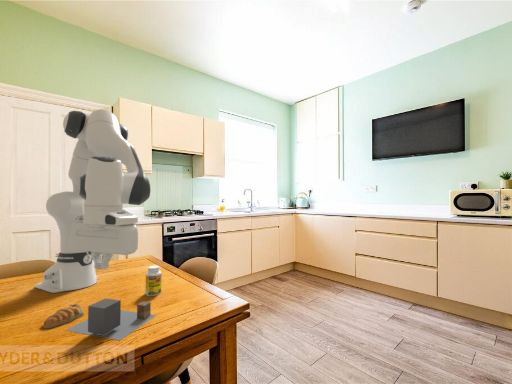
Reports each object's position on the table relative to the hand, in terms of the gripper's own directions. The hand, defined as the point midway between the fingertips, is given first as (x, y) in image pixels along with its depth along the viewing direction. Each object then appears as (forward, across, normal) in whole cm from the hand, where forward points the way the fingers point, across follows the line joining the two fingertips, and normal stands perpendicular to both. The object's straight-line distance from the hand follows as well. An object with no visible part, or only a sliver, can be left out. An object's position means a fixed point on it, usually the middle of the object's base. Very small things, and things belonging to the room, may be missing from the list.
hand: (101, 268), depth 66 cm
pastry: (+18, -16, +3) cm, 25 cm away
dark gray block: (+16, +1, +1) cm, 16 cm away
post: (+17, +5, +11) cm, 20 cm away
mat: (+17, -1, +6) cm, 18 cm away
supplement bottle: (+17, -5, +28) cm, 33 cm away
